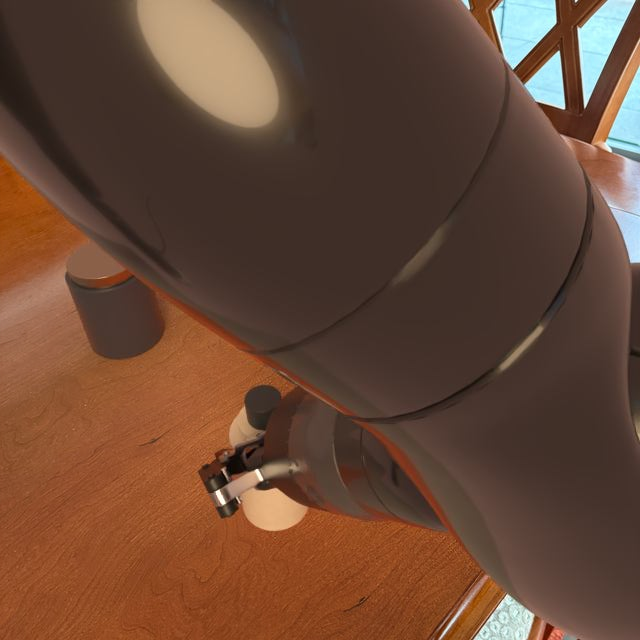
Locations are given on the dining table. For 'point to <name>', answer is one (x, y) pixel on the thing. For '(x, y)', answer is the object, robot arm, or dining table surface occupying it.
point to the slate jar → (112, 304)
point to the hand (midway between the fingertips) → (258, 443)
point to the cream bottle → (260, 401)
